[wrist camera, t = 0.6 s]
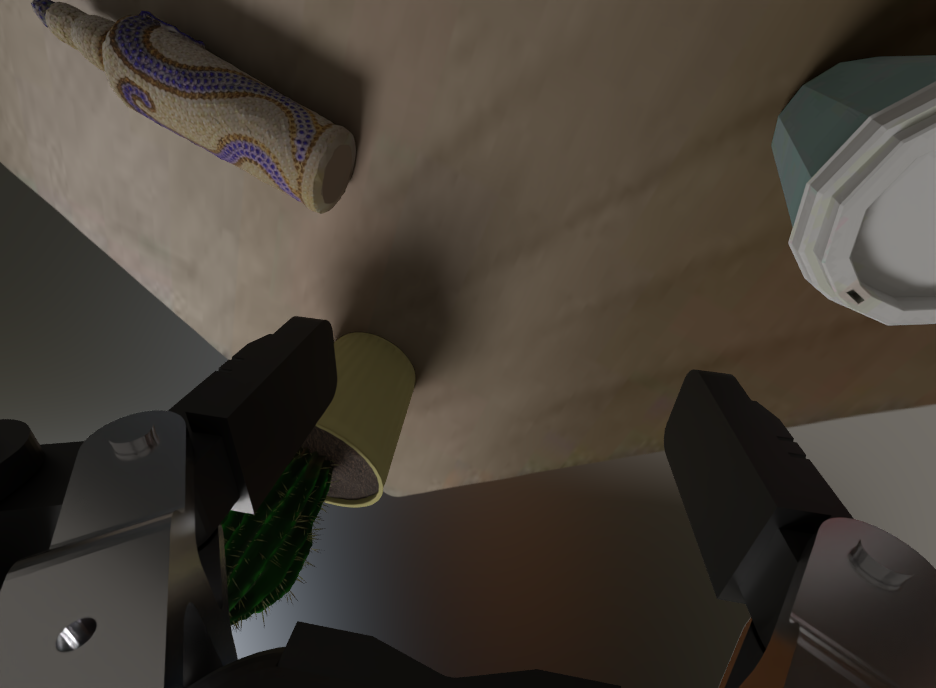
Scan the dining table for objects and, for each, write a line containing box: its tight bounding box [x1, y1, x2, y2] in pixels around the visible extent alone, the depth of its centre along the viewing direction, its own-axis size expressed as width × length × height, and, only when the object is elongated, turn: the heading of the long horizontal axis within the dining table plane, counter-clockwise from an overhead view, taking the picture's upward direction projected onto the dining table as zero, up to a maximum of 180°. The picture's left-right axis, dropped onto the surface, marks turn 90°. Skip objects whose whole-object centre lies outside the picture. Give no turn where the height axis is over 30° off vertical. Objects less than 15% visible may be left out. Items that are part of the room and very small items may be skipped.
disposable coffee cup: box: [771, 55, 936, 325], centre depth 21 cm, size 11×11×15 cm
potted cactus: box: [221, 332, 416, 628], centre depth 43 cm, size 15×15×30 cm
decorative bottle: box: [31, 0, 356, 214], centre depth 33 cm, size 26×8×7 cm, turn 65°
